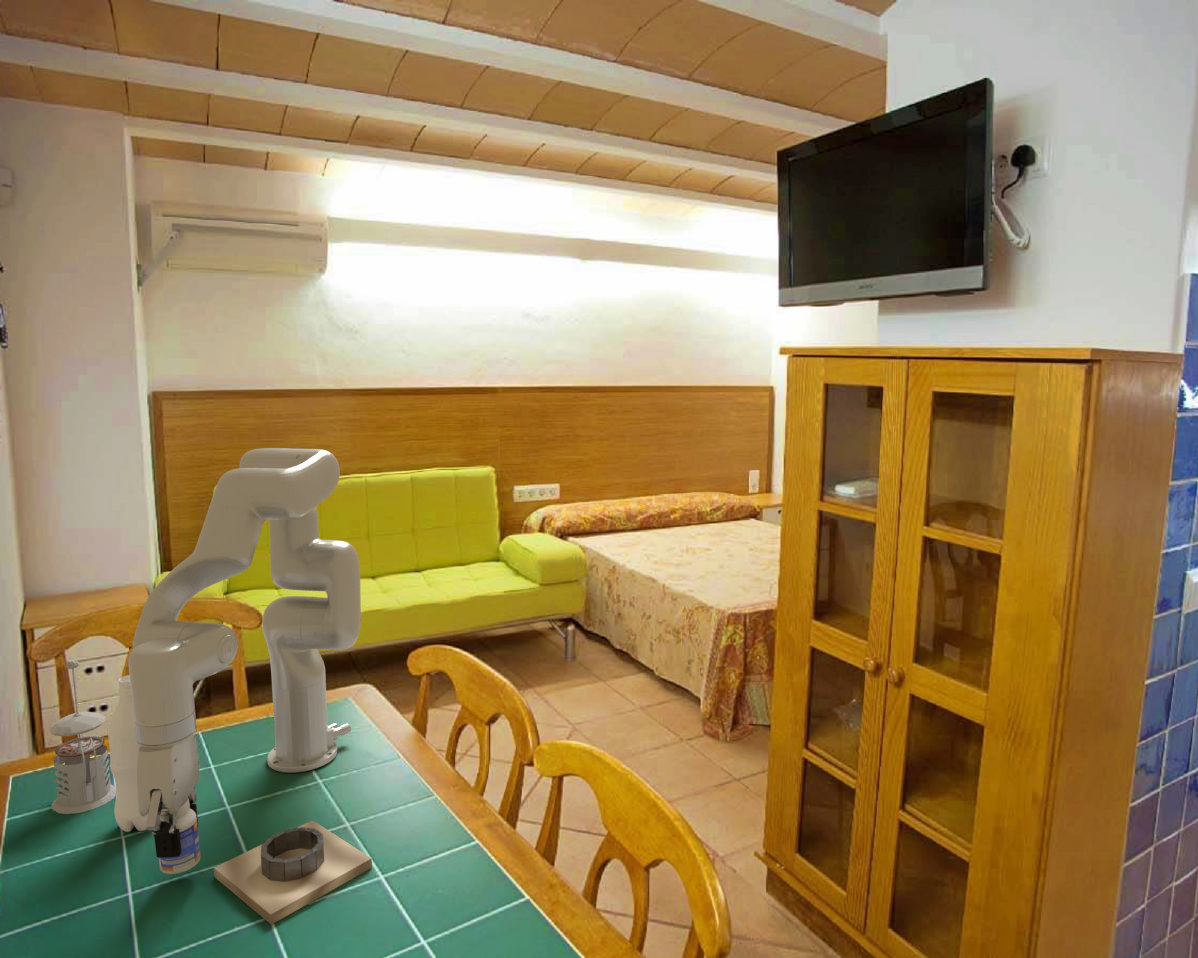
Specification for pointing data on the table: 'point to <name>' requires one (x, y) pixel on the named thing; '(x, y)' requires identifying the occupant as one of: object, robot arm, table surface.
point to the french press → (81, 762)
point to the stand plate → (290, 896)
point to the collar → (297, 865)
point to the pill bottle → (183, 841)
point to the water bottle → (125, 760)
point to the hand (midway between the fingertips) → (178, 841)
